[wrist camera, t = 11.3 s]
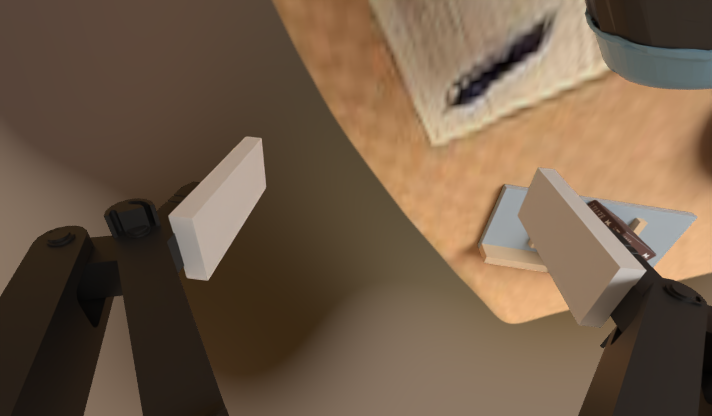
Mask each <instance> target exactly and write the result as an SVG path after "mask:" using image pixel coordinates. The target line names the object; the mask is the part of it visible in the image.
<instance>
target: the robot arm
mask: <svg viewBox="0 0 712 416" xmlns="http://www.w3.org/2000/svg"><path fill="white" fill-rule="evenodd" d="M585 2H586V6H587V8H586V12H585V15H586V19H587V23H588V25H589V26H590V28H591V29H592V30H593V31H594V32H595V35H596V38H597V41H598V44H599V47H600V50H601V54H602V57H603V59H604V61H605V63H606V64H607V66H608V67H609V68H610V69H611V70H612V71H614V72H616V73H618V74H619V75H620V76H621V77H623V78H624V79H626V80H628V81H630V82H633V83H636V84H640V85H644V86H648V87H655V88H663V89H678V90H696V89H712V0H585ZM265 188H266V181H265V170H264V159H263V148H262V138H255V137H245V138H244V139H243V140H242V141H241V142H240V143H239V144H238V145H237V146H236V147H235V148H234V149H233V150H232V151H231V152H230V153H229V154H228V155H227V156H226V157H225V158H224V159H223V160H222V161H221V163H219V164H218V165H217V166H216V167H215V169H214V170H213V171H212V172H211V173H210V174H209V175H208V176H207V177H206V178H205V179H204V180H203V181H202V182H192V183H190V184H187V185H185V186H183V187H181V188H180V189H179V190H178V191H177V192H176V193H175V194H174V196H172V197H171V198H170V199H169V200H168V202H166V203H165V204H164V205H163V206H161V208H159V209H158V210H157V211H156V209H155V206H154V204H153V203H152V202H151V201H149V200H146V199H130V200H125V201H123V202H119V203H117V204H115V205H113V206H111V207H110V208H109V209H108V210H106V212H105V214H104V217H105V220H106V222H107V224H108V227H109V229H110V231H111V234H112V236H103V237H92V238H90V236H89V234H88V232H87V230H85V229H84V228H83V227H80V226H65V227H60V228H56V229H54V230H50V231H48V232H46V233H44V234H43V235H41V236H39V237H38V238H37V239H36V240H35V241H34V242H33V244H32V245H31V247H30V248H29V250H28V252H27V254H26V255H25V257H24V259H23V260H22V262H21V263H20V265H19V267H18V268H17V270H16V272H15V273H14V275H13V277H12V278H11V280H10V281H9V283H8V285H7V287H6V288H5V290H4V291H3V293H2V295H1V296H0V416H83V415H84V411H85V407H86V404H87V400H88V396H89V392H90V388H91V384H92V380H93V376H94V372H95V369H96V365H97V361H98V357H99V353H100V349H101V345H102V341H103V338H104V333H105V330H106V325H107V322H108V318H109V314H110V310H111V306H112V302H113V299H114V296H121V295H123V298H124V304H125V310H126V316H127V322H128V328H129V334H130V340H131V346H132V352H133V358H134V364H135V370H136V376H137V382H138V388H139V394H140V400H141V406H142V412H143V416H229V415H228V412H227V409H226V407H225V405H224V402H223V399H222V396H221V394H220V391H219V388H218V385H217V382H216V379H215V377H214V374H213V371H212V368H211V365H210V362H209V360H208V357H207V354H206V351H205V348H204V346H203V343H202V340H201V338H200V334H199V331H198V329H197V326H196V323H195V320H194V317H193V315H192V312H191V309H190V306H189V303H188V300H187V298H186V295H185V292H184V289H183V286H182V283H181V280H180V278H179V275H178V273H179V272H180V270H181V269H182V267H183V266H184V269H185V273H186V276H187V278H192V279H200V280H208V279H209V278H210V276H211V275H212V273H213V272H214V270H215V268H216V267H217V265H218V263H219V262H220V260H221V259H222V257H223V256H224V254H225V252H226V251H227V249H228V248H229V246H230V244H231V243H232V241H233V240H234V238H235V236H236V234H237V233H238V232H239V230H240V228H241V227H242V225H243V224H244V222H245V220H246V219H247V217H248V216H249V214H250V212H251V211H252V209H253V208H254V206H255V204H256V203H257V201H258V200H259V198H260V196H261V195H262V193H263V192H264V190H265ZM517 216H518V218H519V219H520V221H521V223H522V225H523V227H524V228H525V230H526V232H527V234H528V236H529V237H530V239H531V241H532V243H533V244H534V246H535V248H536V250H537V252H538V253H539V255H540V257H541V259H542V261H543V262H544V264H545V266H546V268H547V269H548V271H549V273H550V275H551V277H552V278H553V280H554V282H555V284H556V286H557V287H558V289H559V291H560V293H561V295H562V296H563V298H564V300H565V302H566V303H567V305H568V307H569V309H570V310H571V312H572V314H573V316H574V318H575V319H576V321H577V323H578V325H583V326H591V327H599V328H601V327H602V326H603V325H604V323H605V322H606V321H607V319H608V318H609V317H610V316H611V317H612V319H613V320H614V322H615V323H616V325H617V326H616V327H615V329H614V330H613V331H612V332H611V333H610V335H609V336H608V337H607V338H606V339H605V340H604V342H603V343H602V344H601V345H600V346H601V347H602V348H604V347H605V346H606V347H605V349H604V352H603V354H602V357H601V359H600V362H599V364H598V367H597V370H596V372H595V374H594V377H593V379H592V382H591V385H590V387H589V390H588V392H587V395H586V397H585V400H584V402H583V405H582V407H581V410H580V412H579V415H578V416H712V306H709V305H707V302H706V301H705V300H704V299H703V297H701V295H699V294H698V293H697V292H696V291H694V290H693V289H691V288H690V287H688V286H686V285H684V284H682V283H680V282H677V281H674V280H671V279H666V278H662V277H661V276H660V275H659V274H658V273H657V272H656V271H655V270H654V268H653V267H652V266H651V265H650V264H649V263H648V262H647V261H646V260H645V259H644V258H643V257H642V256H641V255H639V254H638V251H637V250H636V249H635V248H634V247H631V244H630V243H629V242H628V241H627V240H626V239H625V238H624V237H623V236H622V235H621V234H619V233H618V232H616V231H615V230H613V229H612V228H610V227H607V226H606V225H605V224H604V223H603V222H602V221H601V220H600V219H599V218H598V217H597V215H596V214H595V213H594V212H593V211H592V210H591V209H590V208H589V207H588V206H587V204H586V203H585V202H584V201H583V200H582V199H581V198H580V197H579V196H578V195H577V193H576V192H575V191H574V190H573V189H572V188H571V187H570V186H569V185H568V184H567V182H566V181H565V180H564V179H563V178H562V177H561V176H560V175H559V174H558V173H557V171H556V170H555V169H548V168H537V171H536V173H535V175H534V178H533V180H532V182H531V185H530V187H529V189H528V192H527V194H526V196H525V198H524V201H523V203H522V205H521V208H520V210H519V212H518V215H517Z"/></svg>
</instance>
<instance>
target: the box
mask: <svg viewBox="0 0 712 416" xmlns="http://www.w3.org/2000/svg"><path fill="white" fill-rule="evenodd" d="M587 206H588V207H589V208H590V209H591V210H592V211H593V212H594V213H595V214H596V215H597V217H598V218H599V219H600V220H601V221H602V222H603V223H604V224H605V225H606V226H607V227H610V228H612V229H613V230H615V231H616V232H618V233H619V234H621V235H622V236H623V237H624V238H625V239H626V240H627V241H628V242H629V243H630V244H631V247H634V248H635V249H636V250H637V251H638V254H639V255H641V256H642V257H643V258H644V259H645V260H646V261H648V260H650V259H651V258H653V257H655V256H656V253H655V252H654V251H653V250H652V249H651V248H650V247H649V246H648V245H647V244H646V243H644V242H643V241H642V240H641V239H640V238H639V237H638V236H637V234H635V233H634V232H633V230H632V229H631V228H630V227H629V226H628V225H627V224H626V223H625V222H624V221H623V220H621V219H620V218H619V217H618V216H616V215H615V214H614V213H612V212H611V211H610V210H609V209H607V208H606V207H605V206H604V205H602V204H601V203H600V202H598V201H597V200H593V201H591V202H590V203H588V204H587Z"/></svg>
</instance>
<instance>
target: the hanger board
mask: <svg viewBox="0 0 712 416" xmlns="http://www.w3.org/2000/svg"><path fill="white" fill-rule="evenodd" d="M528 189H529V188H526V187H519V186H513V185H506V184H504V186H503V189H502V191H501V193H500V196H499V198H498V200H497V202H496V205H495V207H494V209H493V211H492V214H491V216H490V218H489V220H488V223H487V225H486V227H485V229H484V232H483V234H482V236H481V239H480V241H479V243H478V248H479V251H480V253H481V256H482V259H483V262H484V263H487V264H494V265H500V266H507V267H514V268H520V269H527V270H533V271H540V272H547V273H549V271H548V269H547V268H546V266H545V264H544V262H543V261H542V259H541V257H540V255H539V253H538V252H537V250H536V248H535V246H534V244H533V243H532V241H531V239H530V237H529V236H528V234H527V232H526V230H525V228H524V227H523V225H522V223H521V221H520V219H519V218H518V216H517V215H518V212H519V210H520V208H521V205H522V203H523V201H524V198H525V196H526V194H527V192H528ZM579 197H580V198H581V199H582V200H583V201H584V202H585V203H586V204H588V203H590V202H591V201H593V200H597V201H598V202H600V203H601V204H602V205H604V206H605V207H606V208H607V209H609V210H610V211H611V212H612V213H614V214H615V215H616V216H618V217H619V218H620V219H621V220H623V221H624V222H625V223H626V224H627V225H628V226H629V227H630V228H631V229H632V230H633V232H634V233H635V234H637V236H638V237H639V238H640V239H641V240H642V241H643V242H644V243H646V244H647V245H648V246H649V247H650V248H651V249H652V250H653V251H654V252H655V253H656V256H655V257H653V258H651V259H650V260H648V261H647V262H648V263H649V264H650V265H651V266H652V267H654V266H655V265H656V264H657V263H658V261H659V260H660V259H661V258H662V257H663V256H664V255H665V253H666V252H667V251H668V250H669V249H670V248H671V247H672V246H673V244H674V243H675V242H676V241H677V240H678V239H679V238H680V236H681V235H682V234H683V233H684V232H685V231H686V230H687V229H688V227H689V226H690V225H691V224H692V223H693V222H694V221H695V219H696V218H697V216H695V215H694V214H693V213H689V212H683V211H676V210H670V209H663V208H657V207H650V206H644V205H637V204H631V203H624V202H617V201H611V200H604V199H598V198H591V197H585V196H579Z"/></svg>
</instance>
